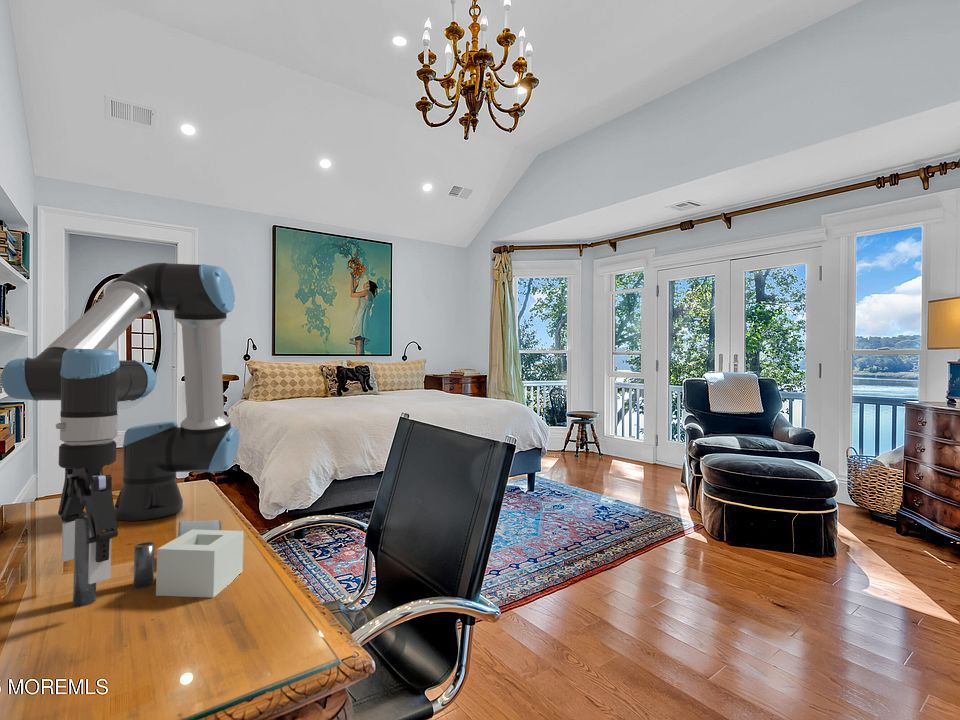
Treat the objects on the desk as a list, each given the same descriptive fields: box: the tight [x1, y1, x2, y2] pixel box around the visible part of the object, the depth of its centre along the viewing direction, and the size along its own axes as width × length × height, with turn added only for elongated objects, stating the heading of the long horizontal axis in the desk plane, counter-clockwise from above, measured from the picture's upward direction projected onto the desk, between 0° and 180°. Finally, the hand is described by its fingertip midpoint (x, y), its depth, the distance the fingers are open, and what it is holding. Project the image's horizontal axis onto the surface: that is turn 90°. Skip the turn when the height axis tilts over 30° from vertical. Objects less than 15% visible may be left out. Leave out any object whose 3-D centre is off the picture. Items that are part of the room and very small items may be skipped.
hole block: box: [155, 529, 245, 599], centre depth 90 cm, size 10×10×8 cm
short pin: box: [132, 541, 156, 589], centre depth 90 cm, size 3×3×7 cm
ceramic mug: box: [177, 519, 224, 538], centre depth 104 cm, size 11×8×8 cm
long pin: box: [72, 514, 97, 607], centre depth 83 cm, size 3×3×14 cm
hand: (84, 569), depth 83 cm, fingers open, 13 cm apart
